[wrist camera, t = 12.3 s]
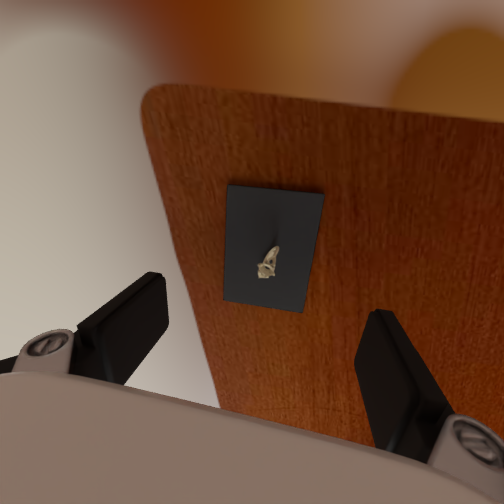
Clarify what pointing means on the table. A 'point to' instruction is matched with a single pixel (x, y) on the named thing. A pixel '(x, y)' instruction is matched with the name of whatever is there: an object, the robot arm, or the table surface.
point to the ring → (268, 264)
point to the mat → (270, 245)
